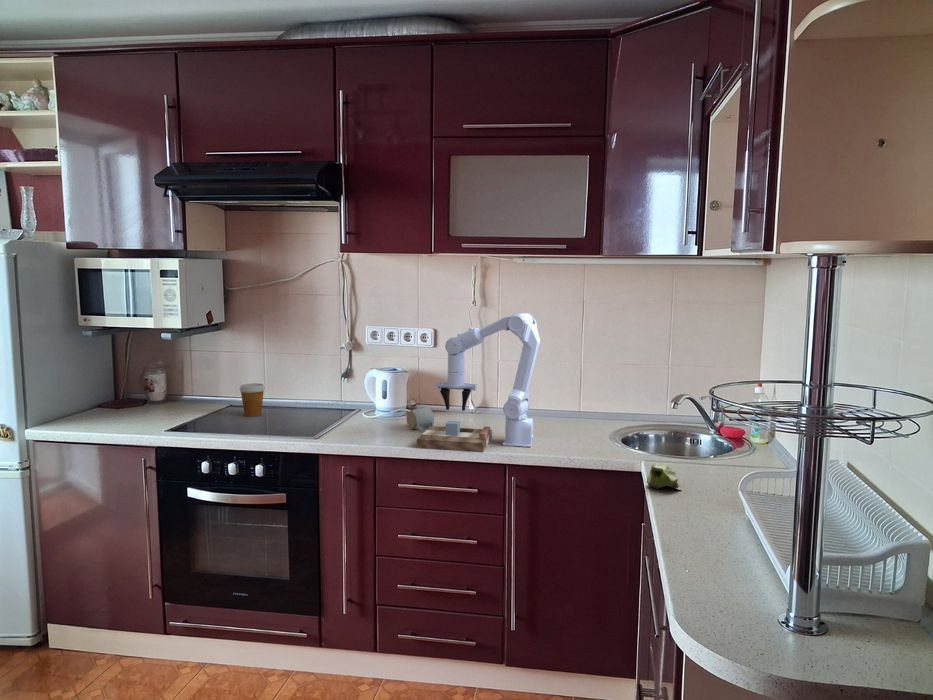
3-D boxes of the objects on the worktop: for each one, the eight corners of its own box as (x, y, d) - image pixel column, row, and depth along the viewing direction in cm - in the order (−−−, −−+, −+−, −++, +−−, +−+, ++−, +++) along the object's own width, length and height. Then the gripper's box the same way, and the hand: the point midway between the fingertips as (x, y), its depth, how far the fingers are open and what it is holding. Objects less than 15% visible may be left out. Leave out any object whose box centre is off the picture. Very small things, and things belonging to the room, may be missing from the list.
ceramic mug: (405, 427, 243) (405, 407, 242) (424, 424, 248) (424, 404, 247) (419, 434, 235) (419, 413, 234) (439, 431, 239) (439, 410, 238)
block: (459, 432, 224) (459, 421, 224) (457, 435, 221) (457, 424, 220) (448, 432, 225) (448, 420, 225) (445, 435, 221) (445, 423, 221)
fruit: (659, 499, 174) (654, 470, 174) (641, 490, 183) (636, 463, 183) (689, 490, 176) (684, 461, 176) (670, 482, 186) (666, 454, 185)
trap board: (491, 438, 230) (492, 424, 229) (483, 452, 212) (483, 436, 212) (430, 434, 234) (430, 420, 233) (417, 447, 216) (417, 432, 216)
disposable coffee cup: (261, 411, 268) (260, 382, 266) (268, 415, 260) (267, 386, 258) (237, 414, 262) (236, 384, 261) (244, 418, 255) (243, 388, 253)
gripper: (478, 370, 232) (478, 408, 234) (438, 368, 235) (438, 406, 236) (474, 373, 225) (474, 412, 227) (433, 371, 228) (433, 410, 229)
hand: (455, 409), depth 231 cm, fingers open, 5 cm apart
